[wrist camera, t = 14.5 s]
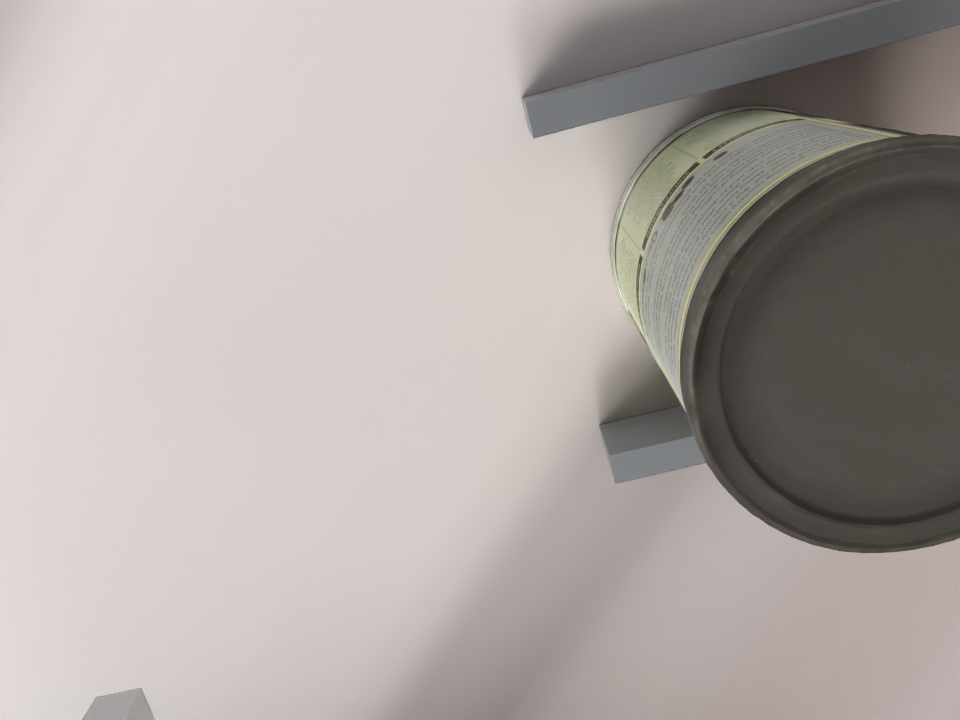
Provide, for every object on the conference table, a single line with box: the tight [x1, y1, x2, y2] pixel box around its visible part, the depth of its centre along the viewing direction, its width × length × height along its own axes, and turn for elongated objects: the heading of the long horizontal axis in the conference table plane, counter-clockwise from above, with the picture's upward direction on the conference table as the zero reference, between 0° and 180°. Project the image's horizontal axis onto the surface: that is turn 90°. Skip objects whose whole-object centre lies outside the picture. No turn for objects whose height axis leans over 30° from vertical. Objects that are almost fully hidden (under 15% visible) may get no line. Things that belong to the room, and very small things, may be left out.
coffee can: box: [610, 106, 960, 553], centre depth 28 cm, size 10×10×14 cm
